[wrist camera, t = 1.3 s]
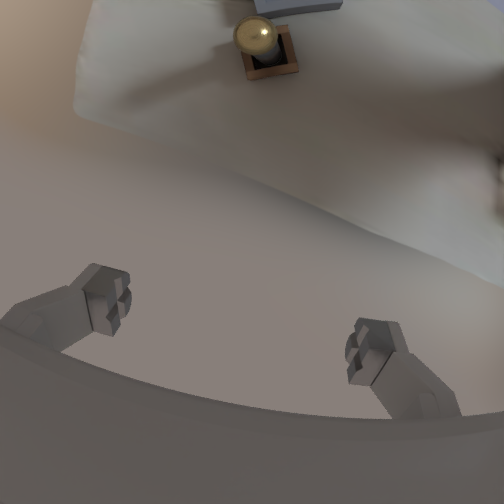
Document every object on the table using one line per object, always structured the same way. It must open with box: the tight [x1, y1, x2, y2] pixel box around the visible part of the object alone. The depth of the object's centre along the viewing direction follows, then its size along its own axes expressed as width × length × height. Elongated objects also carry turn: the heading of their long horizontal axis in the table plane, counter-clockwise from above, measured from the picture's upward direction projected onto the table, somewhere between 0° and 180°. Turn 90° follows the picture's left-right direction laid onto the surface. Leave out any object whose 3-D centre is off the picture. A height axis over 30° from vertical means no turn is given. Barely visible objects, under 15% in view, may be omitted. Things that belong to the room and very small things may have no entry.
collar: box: [241, 25, 299, 81], centre depth 32 cm, size 6×6×3 cm
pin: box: [233, 16, 282, 65], centre depth 26 cm, size 4×4×16 cm
